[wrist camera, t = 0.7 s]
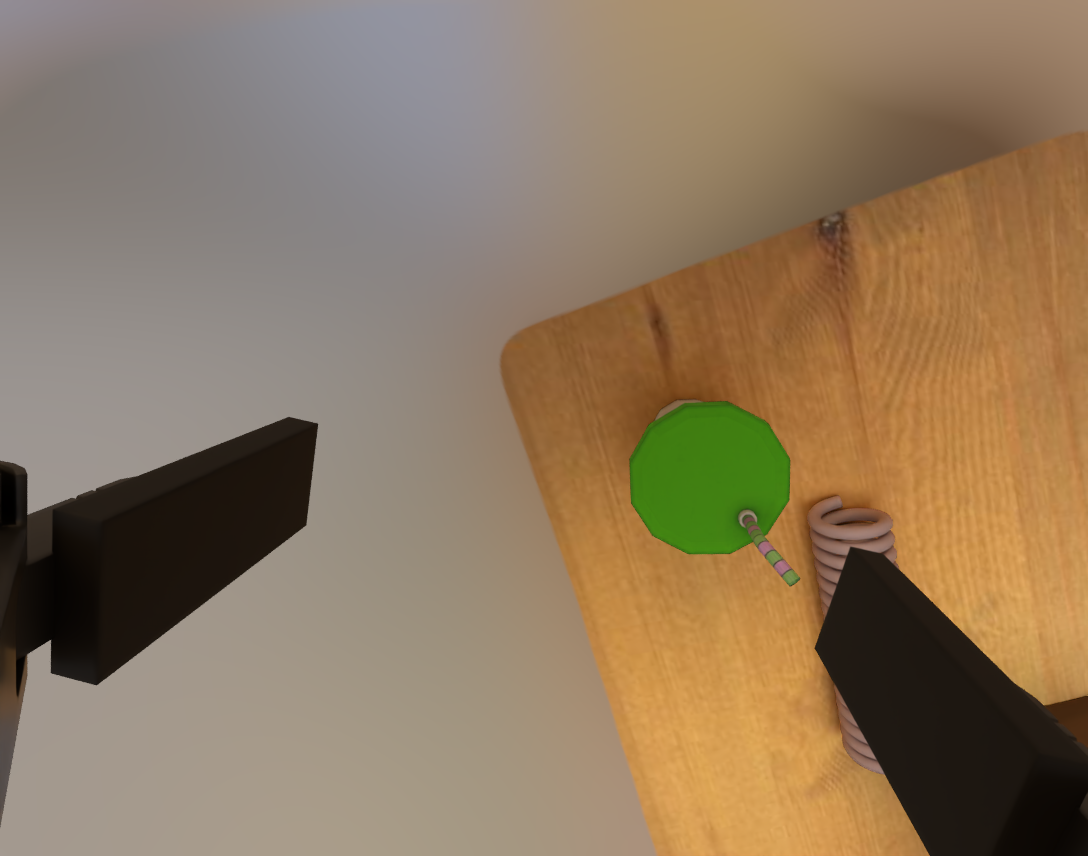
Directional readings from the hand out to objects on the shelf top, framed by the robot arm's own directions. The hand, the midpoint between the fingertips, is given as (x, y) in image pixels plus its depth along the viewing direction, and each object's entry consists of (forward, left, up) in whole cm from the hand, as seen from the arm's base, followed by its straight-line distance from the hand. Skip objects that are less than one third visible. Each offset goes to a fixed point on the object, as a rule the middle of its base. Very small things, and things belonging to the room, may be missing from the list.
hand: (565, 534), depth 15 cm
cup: (+5, +4, -26) cm, 27 cm away
